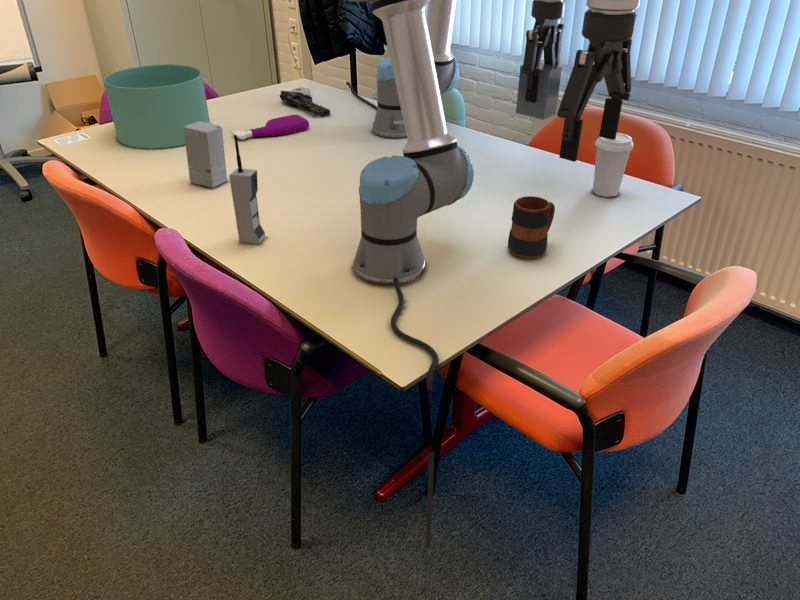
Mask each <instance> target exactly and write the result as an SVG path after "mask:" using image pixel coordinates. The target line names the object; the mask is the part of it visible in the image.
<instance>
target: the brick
mask: <svg viewBox="0 0 800 600" xmlns="http://www.w3.org/2000/svg"><path fill="white" fill-rule="evenodd" d="M522 70H523V64H521V65H520V67H519V78H518V87H517V97H516V105H515V114H519V115H523V116H527V117H529V118H530V117H531V118H534V119H539V120H543V121H544V120H546V119H549V118H551V117H553V116H555V115H557V109H558V108H557V107H558V102H559V93H560V87H561V80H562V79H561V78H562V71H563V66H561V65H558V66H556V65H551V64H545V63H544V62H540V65H539V68H538V72H537V75H538V76H539V79H538V88H537V96H536V103H532V102H527V101H525V96H526V86H527V75H526V74H524V73H522Z"/></svg>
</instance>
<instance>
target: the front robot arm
mask: <svg viewBox="0 0 800 600" xmlns="http://www.w3.org/2000/svg"><path fill="white" fill-rule="evenodd" d="M348 1H349V2H354V3H363V2H370V6H371V12H372V14H373V15H374V16H376V17H377V18H378V19H379V20H381V22H382V26H383V32H384V36H385V39H386V45H387V48H388V49H387V51H388V54H389V57H390V60H391V64H392V69H393V74H394V78H395V83H396V88H397V93H398V97H399V102H400V107H401V112H402V116H403V121H404V126H405V130H406V135H407V137H406V139H407V141H406V144H405V145H404V147H403V149H402V155H391V156H390V157H389V156H382V157H380V158H376V159H374V160H371V161H370V162H369V163H367V164H366V165H365V166H363V168H362V170H361V171H360V174H359V186H358V195H359V206H360V239H359V242H358V247H357V249H356V252H355V256H354V259H353V270H354V273H355V275H356V276H357V277H358V278H359V279H360V280H362V281H364V282H366V283H369V284H370V285H371V284H372V285H376V286H382V287H395V292H396V294H397V297H398V304H397V307H396V309H395V311H394V312H393V314H392V316H391V319H390V327H391V329H392V331H393V332H394V334H395V335H396V336H398V337H399V338H401V339H403V340H404V341H406V342H408V343H410V344H414V345H416V346H418V347H420V348H422V349H423V350H425V351H426V352H428V353H429V354H430V356H431V359H432V362H431V364H430V366H429V368H428V371H427V375H426V390H427V391H432V390H433V381H434V374H435V371H436V369H437V367H438V365H439V356H438V353H437V352H436V351H435V349H434V348H433V347H432V346H431V345H429V344H428V343H426V342H424V341H423V340H420V339H418V338H416V337H414V336H410V335H408V334H406V333H405V332H403V331H402V330H400V328H399V327H398V325H397V319H398V318H399V316H400V314H401V312H402V310H403V308H404V304H405V298H404V297H405V296H404V294H403V291H402V288H401V286H402V285H406V284H410V283H413V282H415V281H417V280H418V279H420V278H421V276H423V274H424V273H425V270H426V260H425V255H424V252H423V250H422V247H421V244H420V241H419V238H418V218H420V217H422V216H425V215H427V214H429V213H432V212H434V211H436V210H439V209H441V208H444V207H446V206H447V207H448V206H451V205H453V204H455V203H456V202H457V201H459V200H461V199H463V198H464V197H466V195H468V193H469V191H470V190H471V189H472V186H473V183H474V177H475V169H474V164H473V161H472V159H471V157H470V155H469V154H467V151H466V150H465V149H464V148H463V147H461V146H458V141H457V137H455V136H453V135H452V134H450V132H449V131H448V126H447V122H446V121H447V120H446V116H445V111H444V106H443V100H442V94H440V89H439V84H438V79H437V74H436V68H435V63H434V58H433V53H432V47H431V42H430V37H429V32H428V26H427V21H426V18H427V15H426V8H427V7H428V3H429V1H430V0H348ZM640 2H641V0H586V2H585V5H586V7H587V8H589V9H587V10H586V11H585V12H584V14H583V20H582V29H581V36H582V37H583V38H584V39H587V40H588V42H589V43H588V45H587V50H583V49H577V50H576V53H575V56H574V63H573V67H572V69H571V72H570V75H569V78H568V81H567V83H566V87H565V88H564V89H565V90H564V93H563V95H562V98H561V101H560V103H559V107H558V108H557V109H558V110H557V111H556V115H557V117H558V118H561V119H564V121H563V126H562V127H563V128H562V135H561V140H560V141H561V142H560V149H559V156H558V157H559V159H562V160H567V161H570V162H574V163H575V162H576V161H577V160H578V154H579V148H580V141H581V136H582V135H581V134H582V129H583V124H584V123H583V122H584V120H583V119H581V117H582V116H583V113H584V112H585V109H586V107H587V105H588V103H589V101H590V99H591V96H592V94H593V92H594V91H595V88H596V86H597V84H598V83H600V82H602V80H603V79H604V83H605V85H606V90H607V93H608V97H606V98H605V100H604V106H603V112H602V117H601V123H600V129H599V135H598V138H599V137H603V138H607V139H612V140H614V139H616V134H617V133H618V128H619V123H620V118H621V112H622V106H623V102H624V101H629V99H630V96H631V94H630V93H631V91H632V68H631V67H632V66H631V51H632V44H633V39H632V38H633V37H634V32H635V28H636V27H635V26H636V22H637V14H636V12H635V10H637V9H638V8H639V7H640ZM427 468H428V469H427V470H428V471H427V494H426V495H427V496H426V521H425V548H426V549H429V548H431V543H432V541H431V540H432V520H433V519H432V518H433V499H434V498H433V497H434V496H433V495H434V475H435V474H434V473H435V450H433V451H431V452H430V453H428V467H427Z"/></svg>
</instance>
